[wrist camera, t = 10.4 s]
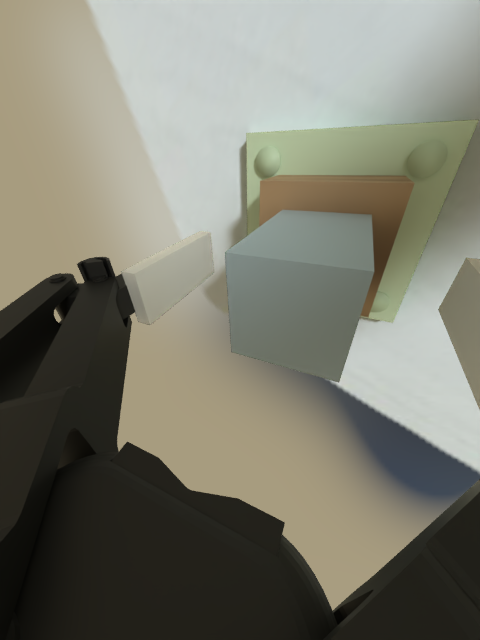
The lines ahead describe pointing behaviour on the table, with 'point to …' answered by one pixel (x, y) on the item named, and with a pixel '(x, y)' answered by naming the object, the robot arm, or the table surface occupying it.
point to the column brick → (300, 289)
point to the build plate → (371, 159)
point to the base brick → (344, 207)
